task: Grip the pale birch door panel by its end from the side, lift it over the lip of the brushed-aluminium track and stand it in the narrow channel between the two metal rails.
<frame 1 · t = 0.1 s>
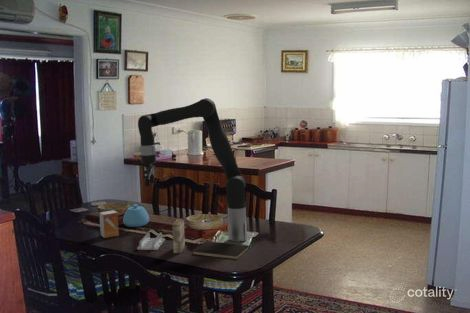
hand: (150, 184, 274), 29 cm above the table, tool pointing down, fingers open, 8 cm apart
track: (151, 244, 269), on the table
small box: (109, 236, 287), on the table
door panel: (179, 249, 260), on the table
sugar bowl: (136, 224, 308), on the table
hardcover book: (221, 252, 256), on the table
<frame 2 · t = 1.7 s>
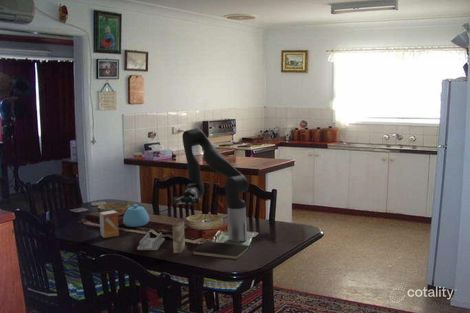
hand: (183, 203, 272), 19 cm above the table, tool horizontal, fingers open, 8 cm apart
nothing on the table moved.
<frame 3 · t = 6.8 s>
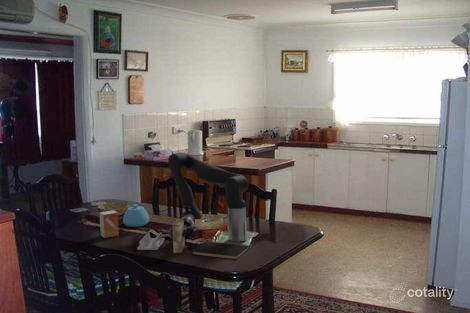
hand: (178, 234, 259), 8 cm above the table, tool horizontal, fingers closed on door panel, 3 cm apart
door panel: (179, 249, 260), on the table, touching gripper
everything else where it was.
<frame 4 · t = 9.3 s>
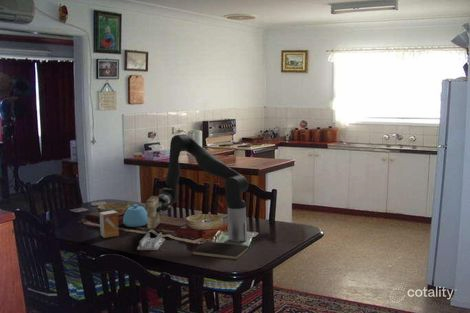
hand: (153, 210, 265), 18 cm above the table, tool horizontal, fingers closed on door panel, 3 cm apart
door panel: (153, 225, 266), point 10 cm above the table, touching gripper
everything else where it was.
when the fingers open (10 cm above the table, at t = 11.8 s): door panel drops 1 cm, resting on track.
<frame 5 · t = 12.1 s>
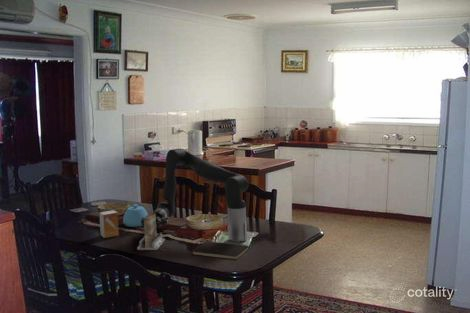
hand: (150, 225, 268), 10 cm above the table, tool horizontal, fingers open, 6 cm apart
door panel: (151, 242, 269), point 1 cm above the table, touching track
everything else where it was.
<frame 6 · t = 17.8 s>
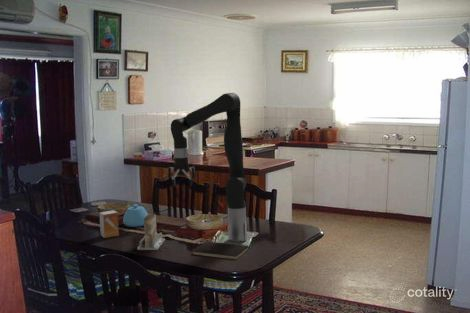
hand: (182, 186, 283), 26 cm above the table, tool pointing down, fingers open, 8 cm apart
nothing on the table moved.
at the end: door panel inside the target area on the track (0.3 cm from its centre), point 1.0 cm above the track's base; door panel tilted 0°; the gripper is holding nothing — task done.
